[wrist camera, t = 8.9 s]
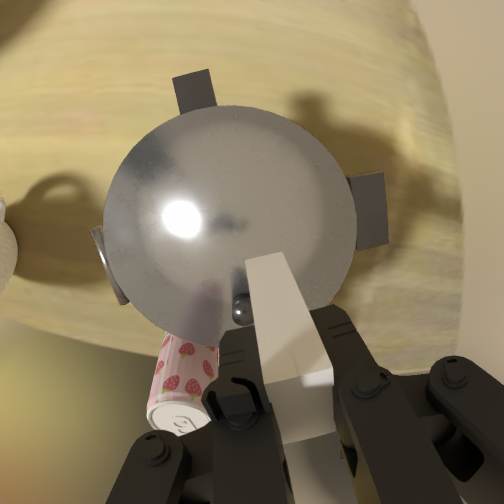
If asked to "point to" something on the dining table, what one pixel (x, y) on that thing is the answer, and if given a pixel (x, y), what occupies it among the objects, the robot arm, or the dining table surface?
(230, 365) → the robot arm
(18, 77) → the dining table surface
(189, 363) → the beverage can
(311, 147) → the lid
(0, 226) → the mug
